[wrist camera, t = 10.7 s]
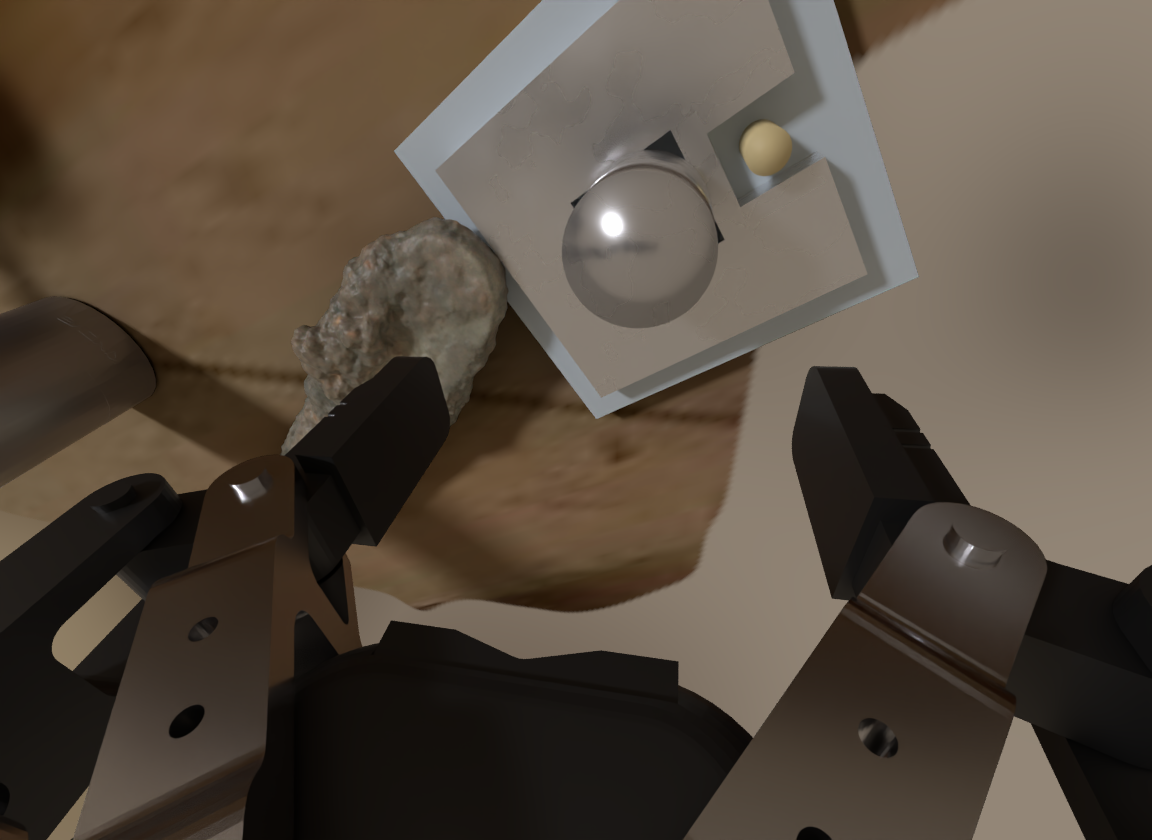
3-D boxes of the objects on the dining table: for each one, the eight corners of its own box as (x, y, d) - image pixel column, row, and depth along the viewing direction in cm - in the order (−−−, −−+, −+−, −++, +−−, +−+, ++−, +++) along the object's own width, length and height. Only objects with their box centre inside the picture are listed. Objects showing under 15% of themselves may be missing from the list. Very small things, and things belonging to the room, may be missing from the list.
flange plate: (605, 383, 28) (586, 454, 23) (449, 164, 22) (377, 194, 17) (857, 262, 22) (910, 323, 16) (727, -91, 16) (746, -166, 11)
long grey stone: (276, 471, 45) (371, 522, 47) (235, 517, 41) (341, 569, 44) (390, 151, 22) (560, 283, 25) (323, 186, 18) (532, 337, 21)
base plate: (599, 405, 31) (588, 448, 28) (408, 147, 24) (359, 160, 20) (906, 266, 23) (947, 302, 19) (758, -203, 15) (778, -283, 12)
